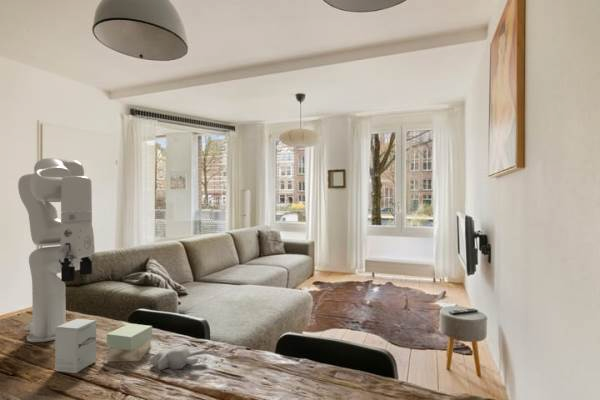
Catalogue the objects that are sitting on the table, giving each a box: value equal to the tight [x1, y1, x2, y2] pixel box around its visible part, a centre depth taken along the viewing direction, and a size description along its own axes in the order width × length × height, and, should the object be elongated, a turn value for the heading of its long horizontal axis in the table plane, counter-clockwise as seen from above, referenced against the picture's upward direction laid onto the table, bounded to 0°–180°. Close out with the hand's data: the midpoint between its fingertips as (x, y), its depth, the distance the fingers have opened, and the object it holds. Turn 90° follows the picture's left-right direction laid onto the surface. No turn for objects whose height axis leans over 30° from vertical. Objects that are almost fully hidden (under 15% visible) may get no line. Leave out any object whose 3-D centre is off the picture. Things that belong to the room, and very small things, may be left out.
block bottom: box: [107, 339, 152, 362], centre depth 105 cm, size 9×9×4 cm
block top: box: [106, 322, 153, 350], centre depth 105 cm, size 9×9×4 cm
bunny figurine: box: [149, 345, 207, 370], centre depth 98 cm, size 10×5×15 cm
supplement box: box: [54, 318, 97, 374], centre depth 98 cm, size 7×7×13 cm
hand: (77, 277), depth 97 cm, fingers open, 9 cm apart
